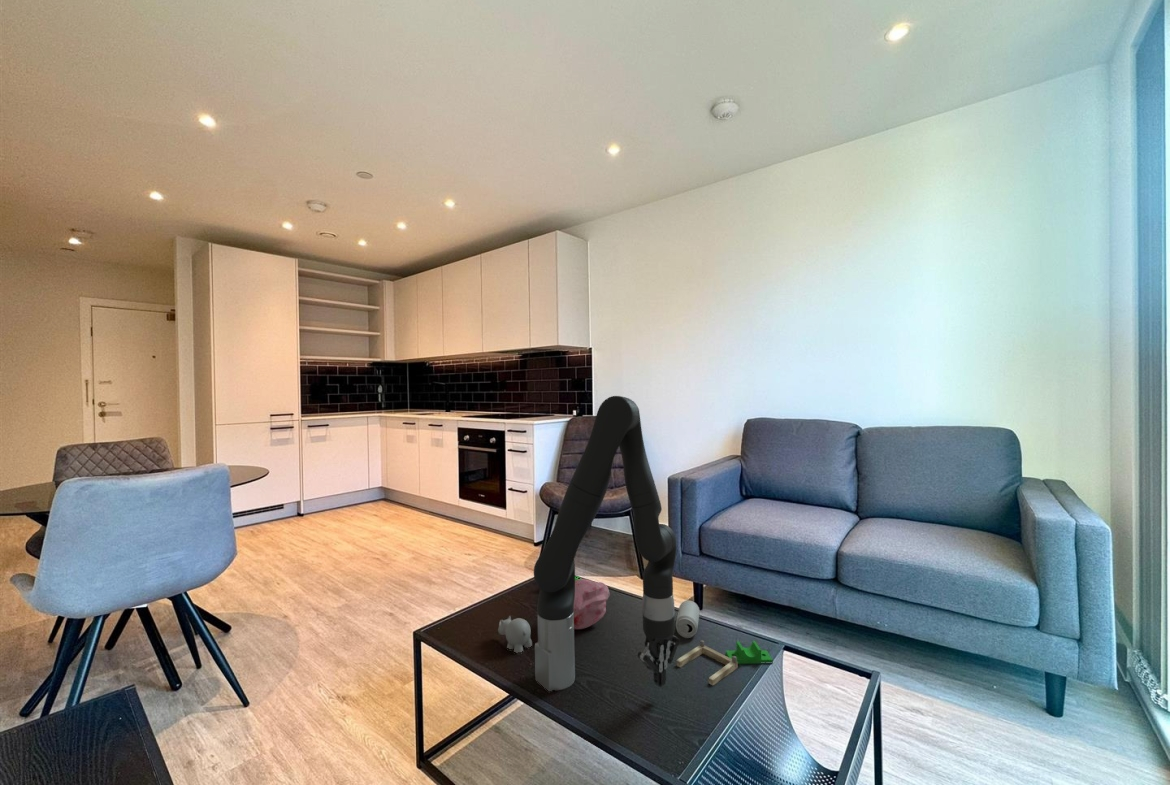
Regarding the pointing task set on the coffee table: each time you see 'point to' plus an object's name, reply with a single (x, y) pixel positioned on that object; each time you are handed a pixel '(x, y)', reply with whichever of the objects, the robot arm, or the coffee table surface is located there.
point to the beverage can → (687, 619)
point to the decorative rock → (589, 602)
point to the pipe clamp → (749, 654)
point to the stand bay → (702, 649)
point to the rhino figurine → (516, 633)
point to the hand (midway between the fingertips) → (660, 684)
